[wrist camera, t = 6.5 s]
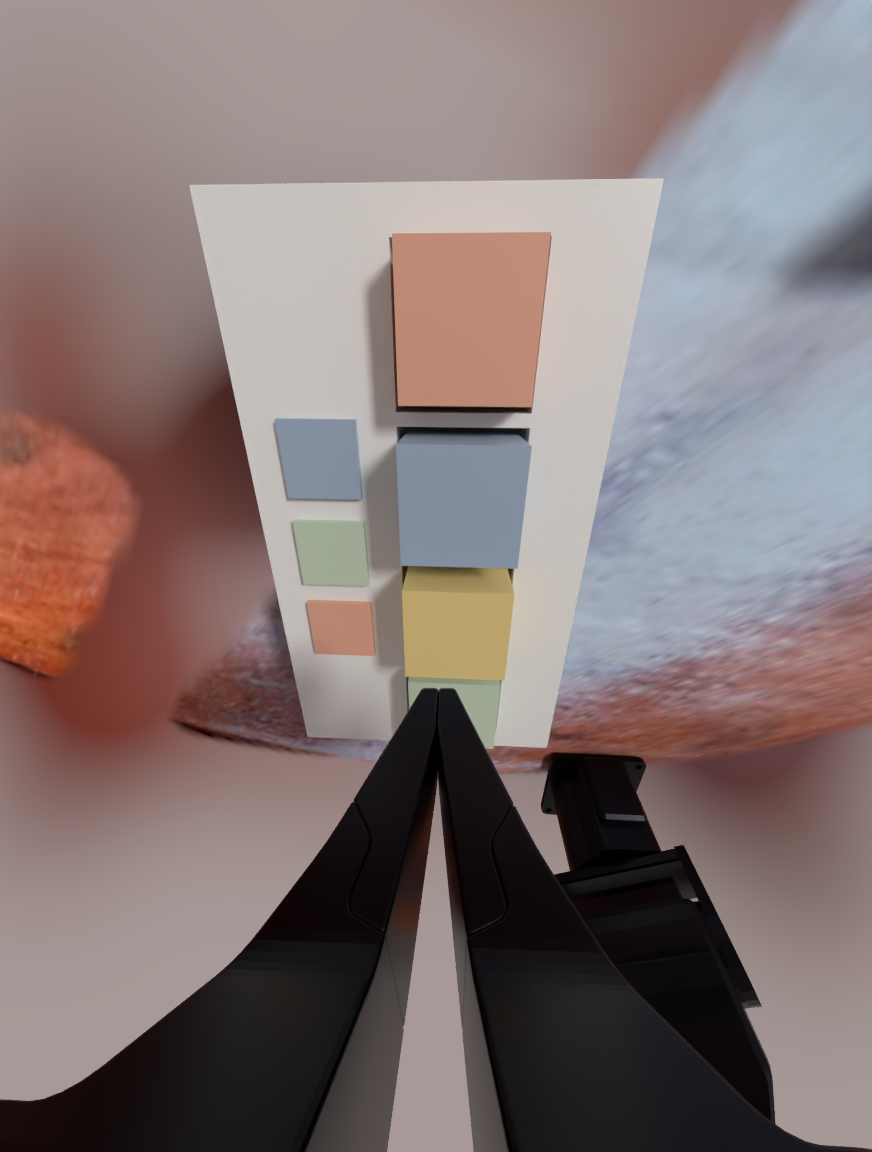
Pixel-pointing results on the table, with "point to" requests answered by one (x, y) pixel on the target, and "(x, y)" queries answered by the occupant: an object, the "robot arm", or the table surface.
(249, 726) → the table surface
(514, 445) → the slate key
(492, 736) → the sage key
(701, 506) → the table surface
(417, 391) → the terracotta key
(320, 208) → the keypad
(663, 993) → the robot arm
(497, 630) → the ochre key
